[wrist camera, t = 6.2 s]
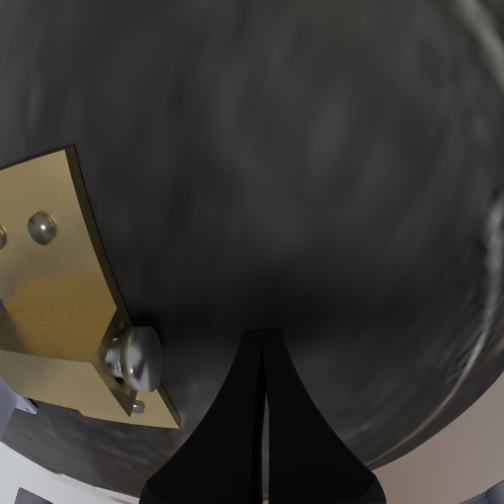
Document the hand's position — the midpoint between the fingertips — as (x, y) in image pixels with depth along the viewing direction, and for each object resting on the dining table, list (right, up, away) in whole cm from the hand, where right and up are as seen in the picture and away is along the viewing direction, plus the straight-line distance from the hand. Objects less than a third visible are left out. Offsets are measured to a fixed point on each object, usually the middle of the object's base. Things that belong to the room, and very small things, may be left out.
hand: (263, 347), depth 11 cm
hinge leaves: (-9, 0, +1) cm, 9 cm away
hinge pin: (-9, 0, +1) cm, 9 cm away
